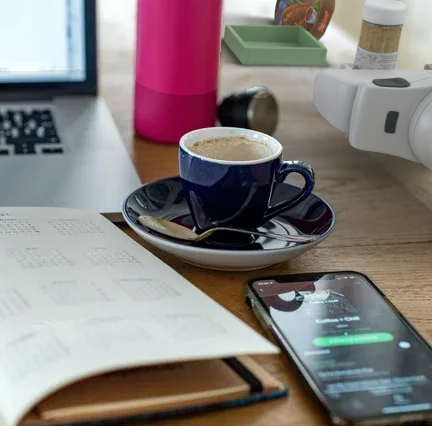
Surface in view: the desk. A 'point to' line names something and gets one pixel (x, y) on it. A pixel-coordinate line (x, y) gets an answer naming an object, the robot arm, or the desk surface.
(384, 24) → the sprinkles bottle
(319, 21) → the tin
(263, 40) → the tray
